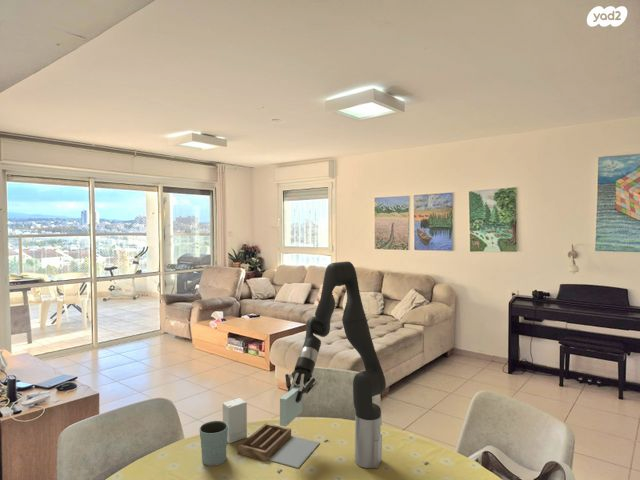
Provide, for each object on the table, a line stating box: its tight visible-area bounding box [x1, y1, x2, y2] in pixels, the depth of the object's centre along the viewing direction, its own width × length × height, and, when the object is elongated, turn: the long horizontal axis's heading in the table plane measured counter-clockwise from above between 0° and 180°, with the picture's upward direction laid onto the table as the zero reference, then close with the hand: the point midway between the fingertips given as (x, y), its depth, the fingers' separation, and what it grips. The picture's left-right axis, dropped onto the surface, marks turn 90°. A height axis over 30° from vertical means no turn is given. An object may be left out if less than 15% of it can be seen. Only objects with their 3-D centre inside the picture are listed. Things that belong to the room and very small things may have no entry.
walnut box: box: [237, 422, 292, 462], centre depth 161 cm, size 12×20×3 cm, turn 157°
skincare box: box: [222, 397, 248, 444], centre depth 166 cm, size 8×6×15 cm
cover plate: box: [279, 385, 304, 428], centre depth 157 cm, size 2×14×10 cm, turn 157°
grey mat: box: [268, 435, 321, 469], centre depth 156 cm, size 12×19×1 cm, turn 156°
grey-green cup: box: [199, 420, 228, 466], centre depth 151 cm, size 10×10×12 cm
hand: (293, 401), depth 158 cm, fingers closed on cover plate, 2 cm apart
